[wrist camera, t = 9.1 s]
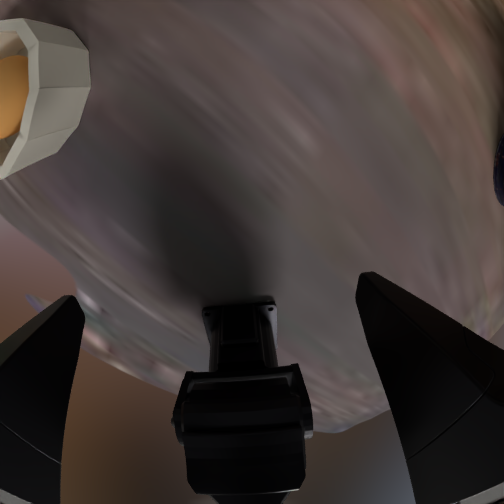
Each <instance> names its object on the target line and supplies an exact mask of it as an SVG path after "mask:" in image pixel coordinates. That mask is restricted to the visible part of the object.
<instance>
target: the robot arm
mask: <svg viewBox="0 0 504 504" xmlns="http://www.w3.org/2000/svg"><path fill="white" fill-rule="evenodd" d="M355 299H356V304H357V307H358V311H359V314H360V318H361V322H362V325H363V329H364V333H365V336H366V340H367V343H368V346H369V349H370V352H371V354H372V357H373V360H374V362H375V365H376V368H377V371H378V373H379V376H380V379H381V382H382V385H383V387H384V390H385V393H386V396H387V399H388V402H389V405H390V408H391V411H392V414H393V418H394V421H395V424H396V427H397V431H398V434H399V437H400V441H401V444H402V448H403V451H404V455H405V459H406V463H407V467H408V471H409V475H410V479H411V484H412V488H413V492H414V497H415V501H416V504H453V503H456V502H457V503H456V504H504V350H503V349H501V348H499V347H497V346H496V345H494V344H492V343H490V342H489V341H487V340H485V339H484V338H482V337H480V336H479V335H477V334H476V333H474V332H473V331H471V330H469V329H468V328H466V327H465V326H463V325H462V324H460V323H458V322H457V321H455V320H454V319H452V318H451V317H449V316H447V315H446V314H444V313H443V312H441V311H439V310H438V309H436V308H434V307H433V306H431V305H430V304H428V303H426V302H425V301H423V300H421V299H420V298H418V297H416V296H415V295H413V294H411V293H410V292H408V291H406V290H405V289H403V288H401V287H399V286H398V285H396V284H394V283H393V282H391V281H389V280H387V279H386V278H384V277H382V276H380V275H379V274H377V273H375V272H372V271H371V272H364V273H361V274H360V276H359V279H358V284H357V290H356V295H355ZM269 307H272V308H269ZM206 312H209V313H206ZM202 316H203V320H204V324H205V328H206V331H207V335H208V339H209V342H210V360H209V372H193V371H186V374H185V377H184V379H183V381H182V384H181V387H180V390H179V394H178V397H177V401H176V404H175V407H174V411H173V417H172V418H171V424H172V426H173V427H174V428H175V431H176V436H177V439H178V441H179V443H180V444H181V445H182V446H184V449H185V456H186V465H187V480H188V483H189V484H190V486H191V487H192V489H193V490H194V492H195V493H196V494H204V495H205V494H206V495H209V496H210V497H211V498H212V499H213V500H214V501H215V502H216V503H217V504H283V502H284V501H285V499H286V498H287V496H288V495H289V494H290V492H291V491H293V490H298V489H299V488H300V487H301V485H302V482H303V481H304V479H305V469H306V454H305V439H310V438H312V435H313V417H312V409H311V404H310V399H309V396H308V393H307V390H306V386H305V383H304V380H303V377H302V374H301V371H300V368H299V365H298V363H296V364H291V365H289V366H280V367H278V362H277V355H276V349H277V308H276V304H275V303H274V302H263V303H252V304H241V305H228V306H214V307H205V308H203V310H202ZM84 324H85V315H84V312H83V310H82V309H81V307H80V305H79V303H78V301H77V299H76V298H75V297H74V296H73V295H66V296H63V297H61V298H60V299H58V300H57V301H55V302H54V303H53V304H51V305H50V306H48V307H47V308H46V309H44V310H43V311H42V312H40V313H39V314H38V315H37V316H35V317H34V318H32V319H31V320H30V321H28V322H27V323H26V324H24V325H23V326H22V327H21V328H19V329H18V330H17V331H15V332H14V333H13V334H12V335H11V336H9V337H8V338H7V339H6V340H4V341H3V342H2V343H1V344H0V504H60V482H61V481H60V480H61V459H62V448H63V438H64V430H65V423H66V416H67V410H68V404H69V399H70V393H71V388H72V384H73V379H74V375H75V370H76V366H77V362H78V357H79V351H80V345H81V339H82V334H83V329H84Z"/></svg>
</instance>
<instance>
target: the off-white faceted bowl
mask: <svg viewBox="0 0 504 504" xmlns="http://www.w3.org/2000/svg"><path fill="white" fill-rule="evenodd" d="M14 55H21V56H26V57H28V75H29V93H28V97H27V101H26V105H25V109H24V113H23V117H22V122H21V127H20V131H19V132H17V133H16V134H14V135H12V136H10V137H7V138H3V139H0V180H1V179H3V178H5V177H7V176H9V175H11V174H13V173H15V172H17V171H19V170H21V169H23V168H25V167H27V166H29V165H31V164H33V163H35V162H37V161H39V160H42V159H44V158H46V157H48V156H51V155H53V154H55V153H57V152H58V151H59V149H60V148H61V147H62V145H63V144H64V143H65V142H66V140H67V139H68V138H69V137H70V135H71V134H72V133H73V132H74V130H75V129H76V128H77V127H78V125H79V123H80V119H81V116H82V113H83V109H84V106H85V103H86V100H87V97H88V94H89V91H90V89H91V80H90V65H89V51H88V49H87V48H86V47H85V46H84V44H83V43H82V42H81V41H80V39H79V38H78V37H77V36H76V34H75V33H74V32H73V31H72V30H70V29H67V28H63V27H60V26H56V25H52V24H48V23H44V22H40V21H35V20H30V19H25V18H17V19H8V20H1V21H0V60H1V59H3V58H5V57H9V56H14Z"/></svg>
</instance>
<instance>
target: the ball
mask: <svg viewBox="0 0 504 504" xmlns="http://www.w3.org/2000/svg"><path fill="white" fill-rule="evenodd" d="M28 93H29V75H28V57H26V56H21V55H14V56H9V57H5V58H3V59H1V60H0V139H3V138H7V137H10V136H12V135H14V134H16V133H17V132H19V131H20V127H21V122H22V117H23V113H24V109H25V105H26V101H27V97H28Z"/></svg>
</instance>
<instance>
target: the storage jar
mask: <svg viewBox="0 0 504 504" xmlns="http://www.w3.org/2000/svg"><path fill="white" fill-rule="evenodd" d="M493 179H494V189H495V194H496V197H497V199H498V201H499V203H500V204H501V205H503V206H504V134H503V136H502V138H501V140H500V142H499V145H498V148H497V152H496V156H495V162H494V176H493Z"/></svg>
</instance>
